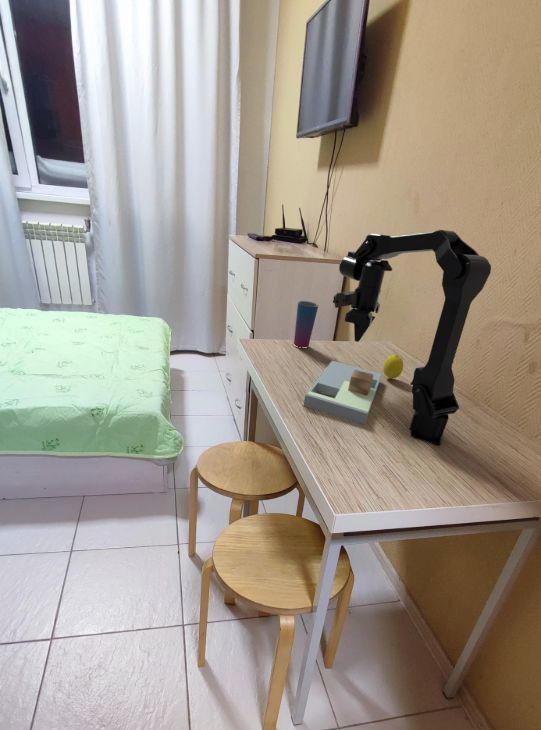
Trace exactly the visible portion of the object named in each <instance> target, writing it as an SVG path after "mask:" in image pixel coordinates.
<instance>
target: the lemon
mask: <svg viewBox="0 0 541 730" xmlns="http://www.w3.org/2000/svg"><path fill="white" fill-rule="evenodd" d="M382 369H383V374H384V375H385V376H386V377H387V378H388V380H392V379H396V378H398V377H399V376H401V374H402V373H403V371H404V361H403V358H402V357H400V356H399V355H398V354H393V355H389V356H388V357H387V358H386V359H385V361H384V363H383V367H382Z"/></svg>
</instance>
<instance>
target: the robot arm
mask: <svg viewBox="0 0 541 730" xmlns="http://www.w3.org/2000/svg"><path fill="white" fill-rule="evenodd" d="M431 251H432V252H434V256H435V261H436V263H437V265H438V266H439V267H440V269H441V270H442V271H443V272H442V279H441V286H442V290H443V294H444V302H443V306H442V310H441V312H440V317H439V320H438V323H437V327H436V331H435V334H434V338H433V342H432V345H431V349H430V353H429V357H428V360H427V363H426V364H425V365H424V366H422V367H421V366H419V367H416V368H415V369H414V372H413V378H412V380H411V382H410V386H411V394H412V410H413V411H414V412H413V414H412V417H411V420H410V424H409V431H410V437H411V438H414V439H417V440H421V441H423V442H424V441H425V442H427V443H430V444H434V445H436V446H441V445H442V438H443V434H444V431H445V429H446V427H447V424H448V421H449V415H451V414H452V415H453V414H455V413H457V412H458V410H459V409H460V406H459V403H458V401H457V398H456V395H455V393H454V386H455V376H454V373H453V363H454V359H455V357H456V355H457V354H456V353H457V350H458V347H459V344H460V341H461V337H462V335H463V331H464V328H465V324H466V320H467V317H468V314H469V310H470V308H471V304H472V302H473V301H474V300H475V299H476V297H477V296H478V295H479V294H480V293H481V291H483V289H484V288H485V285H486V283H487V281H488V279H489V277H490V275H491V271H492V265H491V264H490V262H489V260H488V259H487V257H485V256H484V255H480V254H479V253H478V252H477V250H475V249H474V248H472V246H470V245H469V244H468V243H466V242H465V241H464V240H463V239H462V238H461V237H460V236H459V235H458V234H457V233H456V232H455V231H453V230H445V229H437V230H435V231H429V232H421V233H420V232H419V233H412V234H404V235H402V234H401V235H396V236H395V235H386V234H379V233H378V234H377V233H369V234H367V235H366V236H365V240H364V241H363V242H361V245H360V246H359V247H358V248H357V249H356V250H355V251H348V252H347V255H346V256H344V258H342V260H341V262H339V267H338V268H339V269H338V270H339V273H340V274H341V275H342V276H343V277H346V278H349V279H351V280H355V281H356V282H358V286H357V287H355V289H354V291H347V292H344V291H341V292H336V294H334V295H333V296H332V297H333V300H332V303H333V304H334V308H335V309H337V308H339V309H340V307H347V306H348V307H349V306H350V310H348V311H347V312H346V313H345V318H344V322H347V323H350V324H353V325H354V326H353V327H354V328H353V329H354V342H356V343H359V342H360V340H361V339H362V337H363V336H364V335H365V333H366V332H367V330H368V329H369V327H370V326H371V325H372V323H373V322H374V320H375V318H376V317H375V316H373V313H374V312H375V314H379V311H380V307H381V304H380V303H379V296H380V294H381V291H382V289H381V288H382V285H383V280H384V276H385V272H392V271H393V268H392V266H391V264H390V263H389V261H388V259H392V258H395V257H397V256H399V255H402V254H407V253H422V252H431Z"/></svg>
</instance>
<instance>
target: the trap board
mask: <svg viewBox="0 0 541 730" xmlns="http://www.w3.org/2000/svg"><path fill="white" fill-rule="evenodd" d="M354 370H358V371H362V372H366V373H370V374H373V375H374V376H373V379H372V383H371V387H370V390H369V393H368V395H367V396H366V395H363V394H359V393H356V392H352V391H349V390H348V388H349V384H350V379H351V376H352V374H353V372H354ZM381 378H382V373H379V372H376V371H371V370H368V369H364V368H361V367H357V366H352V365H349V364H345V363H342V362H337V361H336V360H335V361H334V360H331V361H330V363H329V364H328V365H327V367H326V368H325V369H324V370H323V372H322V374H320V376H319V378H318V379H317V380H316V382H315V383H314V384H313V386H312V387H311V388H310V390H309V391H308V392H307V393H305V395H304V401H303V406H304V407H307V408H309V409H313V410H316V411H319V412H322V413H325V414H328V415H332V416H336V417H338V418H342V419H345V420H347V421H351V422H355V423H358V424H360V425H365V424H366V421H367V418H368V417H369V413H370V410H371V407H372V404H373V402H374V398H375V396H376V393H377V391H378V387H379V385H380V382H381ZM317 392H318V393H317ZM321 393H322V394H321ZM324 394H325V395H324ZM327 395H328V396H327ZM331 396H332V397H331Z"/></svg>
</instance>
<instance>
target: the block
mask: <svg viewBox="0 0 541 730" xmlns="http://www.w3.org/2000/svg"><path fill="white" fill-rule="evenodd" d="M373 376H374V375H373V374H370V373H366V372H362V371H358V370H354V372H353V374H352V376H351V379H350V384H349V388H348V390H349V391H352V392H356V393H359V394H363V395H366V396H367V395H368V393H369V390H370V388H372V387H371V383H372V379H373Z"/></svg>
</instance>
